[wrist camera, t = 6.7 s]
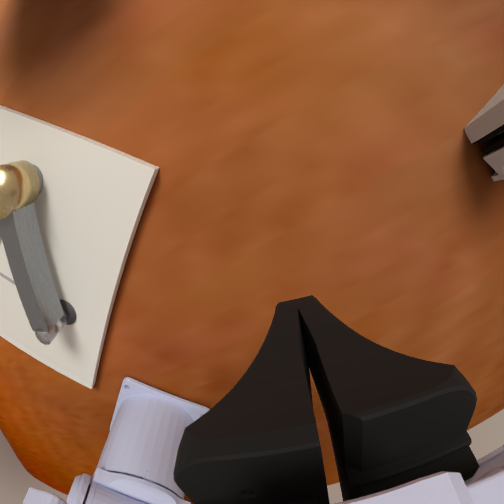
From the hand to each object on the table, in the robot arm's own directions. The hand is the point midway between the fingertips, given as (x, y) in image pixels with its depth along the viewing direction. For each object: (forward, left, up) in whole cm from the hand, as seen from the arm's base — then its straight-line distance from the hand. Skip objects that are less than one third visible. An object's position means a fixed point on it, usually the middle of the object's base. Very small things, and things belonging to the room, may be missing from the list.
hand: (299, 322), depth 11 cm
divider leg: (-7, +15, -8) cm, 18 cm away
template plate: (-9, +17, -9) cm, 21 cm away
